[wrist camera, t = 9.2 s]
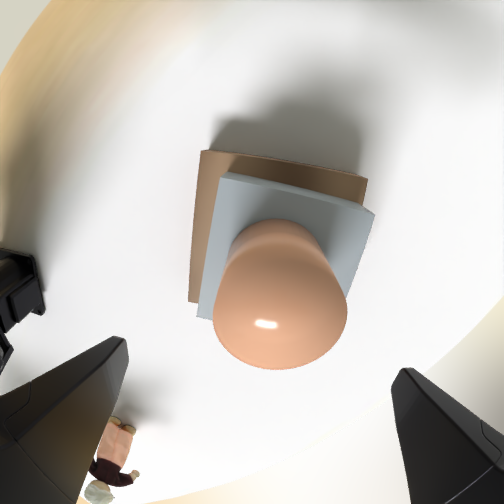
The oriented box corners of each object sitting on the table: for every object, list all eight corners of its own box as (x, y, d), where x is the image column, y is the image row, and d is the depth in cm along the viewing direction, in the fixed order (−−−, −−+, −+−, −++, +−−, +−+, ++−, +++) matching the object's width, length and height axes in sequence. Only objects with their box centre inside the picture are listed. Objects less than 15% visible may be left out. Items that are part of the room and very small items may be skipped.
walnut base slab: (196, 282, 22) (188, 301, 20) (209, 149, 19) (201, 150, 16) (322, 299, 23) (330, 320, 20) (353, 173, 19) (368, 178, 16)
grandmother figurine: (96, 419, 30) (63, 491, 18) (100, 407, 29) (63, 486, 17) (146, 444, 31) (124, 520, 19) (154, 435, 30) (130, 517, 18)
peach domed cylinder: (223, 301, 16) (210, 363, 11) (231, 212, 14) (216, 250, 10) (312, 310, 16) (328, 372, 12) (331, 225, 14) (362, 267, 10)
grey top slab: (205, 292, 19) (196, 316, 17) (227, 171, 16) (220, 177, 14) (320, 314, 20) (328, 340, 17) (357, 202, 17) (375, 214, 14)
